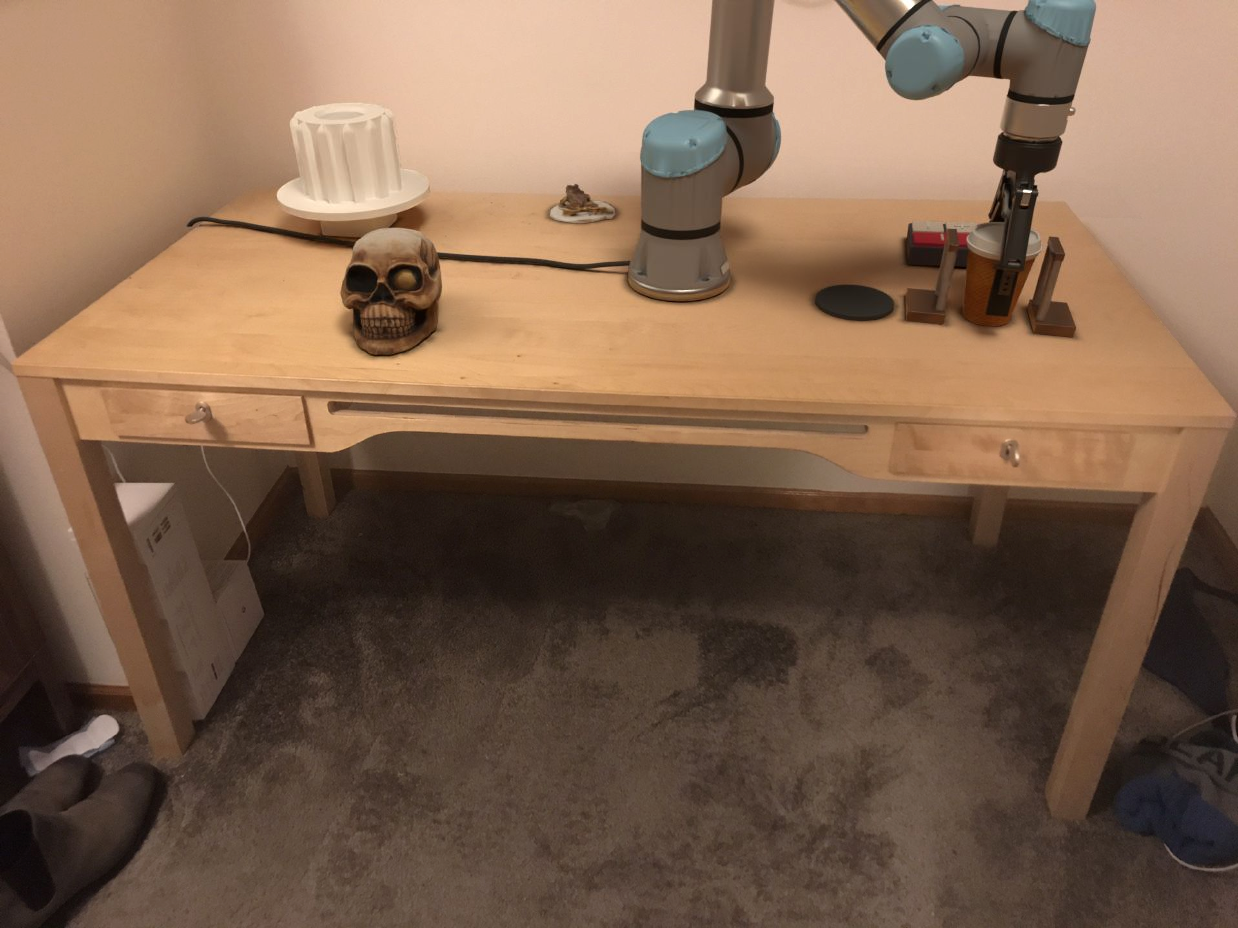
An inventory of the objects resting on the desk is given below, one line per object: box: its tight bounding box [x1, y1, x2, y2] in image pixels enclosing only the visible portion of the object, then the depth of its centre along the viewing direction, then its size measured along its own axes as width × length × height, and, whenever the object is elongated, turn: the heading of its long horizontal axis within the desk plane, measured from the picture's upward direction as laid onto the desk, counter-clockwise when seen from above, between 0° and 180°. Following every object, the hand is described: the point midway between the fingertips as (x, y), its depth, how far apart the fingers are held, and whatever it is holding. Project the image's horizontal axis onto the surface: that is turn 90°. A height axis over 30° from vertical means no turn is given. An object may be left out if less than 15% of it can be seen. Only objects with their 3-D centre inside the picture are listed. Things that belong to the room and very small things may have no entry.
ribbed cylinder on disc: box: [276, 101, 431, 239], centre depth 150 cm, size 25×25×19 cm
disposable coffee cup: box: [961, 222, 1044, 327], centre depth 122 cm, size 10×10×12 cm
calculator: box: [906, 220, 978, 268], centre depth 142 cm, size 11×4×15 cm
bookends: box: [905, 229, 1077, 338], centre depth 122 cm, size 22×8×11 cm, turn 76°
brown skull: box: [339, 227, 443, 356], centre depth 122 cm, size 16×17×13 cm
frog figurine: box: [549, 183, 616, 224], centre depth 160 cm, size 12×12×4 cm
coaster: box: [814, 283, 895, 321], centre depth 129 cm, size 11×11×1 cm
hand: (991, 294), depth 123 cm, fingers open, 13 cm apart
